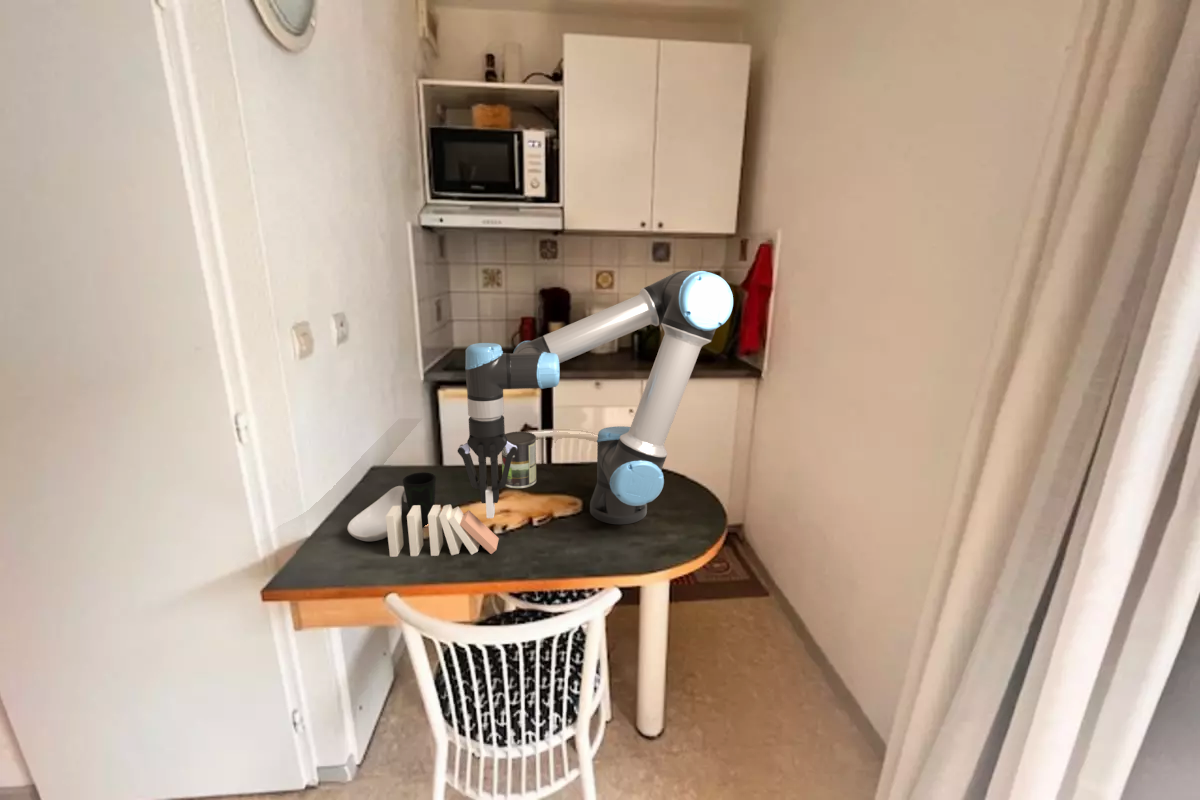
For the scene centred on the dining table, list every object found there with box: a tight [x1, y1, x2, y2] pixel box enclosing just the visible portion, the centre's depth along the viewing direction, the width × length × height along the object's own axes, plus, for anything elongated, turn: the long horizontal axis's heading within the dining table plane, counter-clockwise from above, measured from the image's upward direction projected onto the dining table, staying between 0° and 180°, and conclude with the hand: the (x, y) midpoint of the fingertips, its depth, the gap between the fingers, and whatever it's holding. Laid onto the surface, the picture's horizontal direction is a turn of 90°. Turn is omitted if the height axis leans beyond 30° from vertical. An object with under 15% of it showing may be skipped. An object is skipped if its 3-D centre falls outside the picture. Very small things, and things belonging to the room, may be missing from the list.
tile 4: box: [406, 505, 424, 557], centre depth 118 cm, size 2×5×10 cm, turn 4°
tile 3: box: [428, 504, 444, 557], centre depth 119 cm, size 2×5×10 cm, turn 4°
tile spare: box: [460, 509, 500, 555], centre depth 119 cm, size 2×5×10 cm
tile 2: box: [439, 504, 463, 556], centre depth 119 cm, size 2×5×10 cm, turn 4°
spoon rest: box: [346, 485, 407, 542], centre depth 131 cm, size 24×12×7 cm, turn 172°
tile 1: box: [448, 506, 481, 555], centre depth 119 cm, size 2×5×10 cm, turn 5°
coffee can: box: [501, 431, 537, 489], centre depth 155 cm, size 10×10×14 cm
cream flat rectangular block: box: [386, 506, 405, 558], centre depth 118 cm, size 2×5×10 cm, turn 4°
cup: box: [402, 471, 437, 529], centre depth 130 cm, size 8×8×12 cm
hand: (490, 515), depth 118 cm, fingers closed
